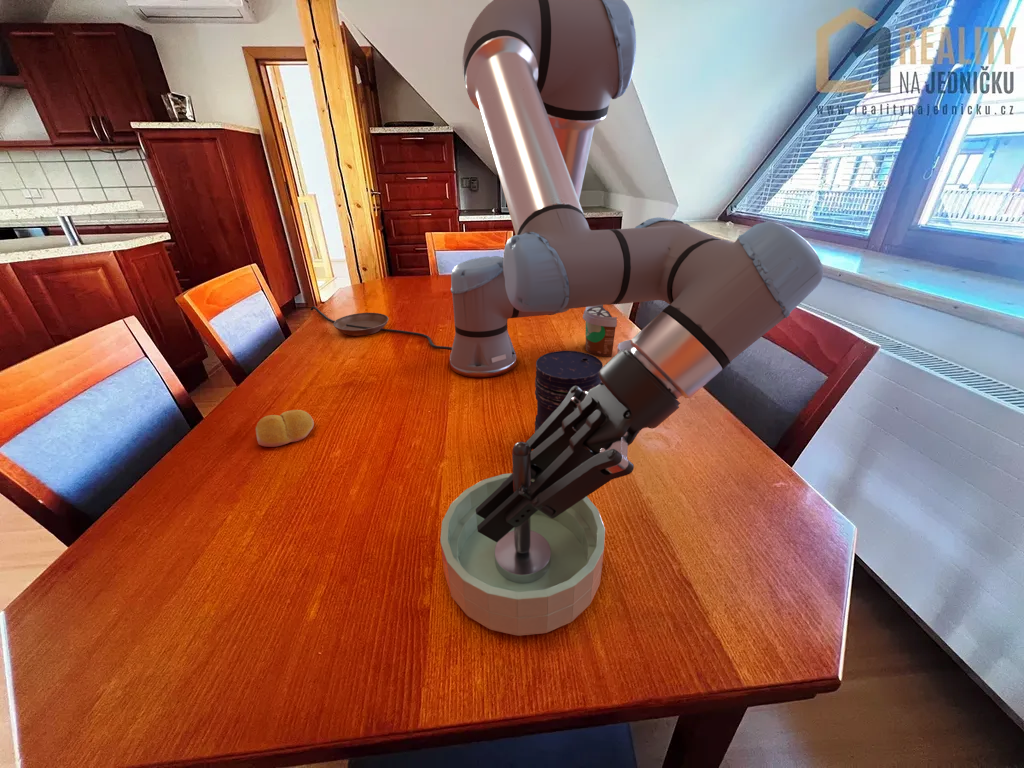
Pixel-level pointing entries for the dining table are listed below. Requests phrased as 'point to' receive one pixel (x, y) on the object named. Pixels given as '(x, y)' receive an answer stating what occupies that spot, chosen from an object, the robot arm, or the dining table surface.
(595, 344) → the food container
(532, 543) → the peg on round base
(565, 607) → the bowl
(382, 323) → the saucer
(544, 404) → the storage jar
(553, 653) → the dining table surface
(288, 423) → the bread roll
